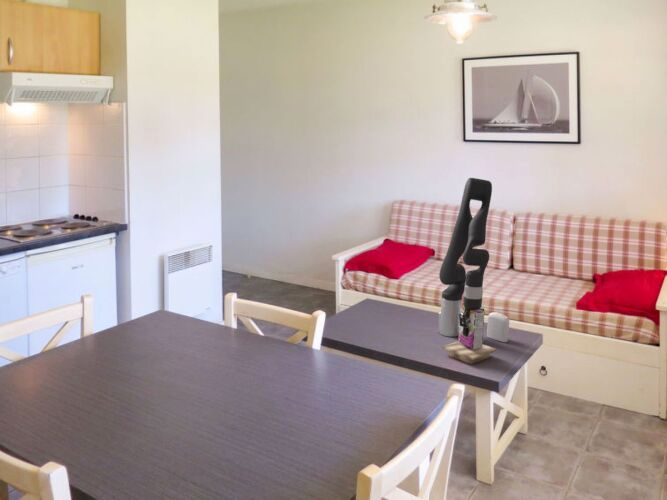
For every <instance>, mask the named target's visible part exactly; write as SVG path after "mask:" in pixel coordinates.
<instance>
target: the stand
mask: <svg viewBox="0 0 667 500" xmlns="http://www.w3.org/2000/svg"><path fill="white" fill-rule="evenodd" d="M441 347H442V348H441V349H443V350H446V351H447V352H448V356H449V355H450V357H451V356H452V358H454V357H455V358H454V359H456V360H459V361H461V362H462V361H463V362H464V363H466V364H470V365H472V364H475V363H478V362H481V361H484V360H486V359H489V358H490V354H493V353H495V352H497V348H495V347H492V346H489V345H486V344H484V343H482V348H480V349H474V350H473V349H471V348H469V347H468V346H466V345H464V344H463V343H461V342H459V341H458V340H457V341H454V342H451V343H447V344H445V345H443V346H441Z"/></svg>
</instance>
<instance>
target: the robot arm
mask: <svg viewBox="0 0 667 500" xmlns="http://www.w3.org/2000/svg"><path fill="white" fill-rule="evenodd" d="M492 192H493V185H492V182H491V181H490V180H487V179H481V178H475V177H469V178H467V180H466V182H465V186H464V188H463V193H462V197H461V201H460V202H461V203H460V207H459V211H458V215H457V219H456V220H455V221H456V222H455V223H454V226H453V231H452V235H451V238H450V241H449V244H448V249H447V251H446V254H445V256H444V259H443V261H442V264H441V267H440V270H439V280H440V282H441V284H443V285H445V286H447V288H445V289H443V290H442V292H441V304H440V305H441V306H440V312H439V313H438V322H437V323H438V324H437V325H438V326H437V333H439V334H440V335H442V336H443V337H449V338H450V337H458V333H459V321H460V326H462V327H463V335H464V336H468V332H469V328H468V327H469V323H470V319H469V320H466V318H469V316H470V310H471V309H480V310H482V311H484V312H485V308H483V295H484V294H483V292H484V289H483V285H484V275H485V272H486V269H487V266H488V264H489V261H490V252H489V251H488V250H487V249H485V248H475V247H480V246H483V245H485V243H486V240H487V239H486V234H487V223H488V217H489V210H490V205H491V201H492ZM472 200H473V201H477V202H478V201H479V202H481V206H480V208H479V210H478V211H477V213H476V214H475V215H474V216H473V215H472V212H471V209H470V208H471V207H470V205H471V201H472ZM461 257H462V261H463V264H465V266H474V267H475V266H476V267H478V268H477V269H472V270H468V271H466V268H465V266H464V265H463V264H461V263H459V260H460V259H461ZM462 302H463V303H462ZM460 305H463V306H464V307H465V311H464V313H460ZM462 322H463V324H462ZM466 322H467V325H466Z"/></svg>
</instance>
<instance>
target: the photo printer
mask: <svg viewBox="0 0 667 500" xmlns="http://www.w3.org/2000/svg"><path fill="white" fill-rule="evenodd" d="M509 328H510V317H508V316H507V315H505V314H504V313H500V312H496V311H495V312H494V311H493V312H490V313H489V314H488V315H487V327H486V337H487V338H488V339H492V340H495V341H497V342H502V343H507V342H508V341H509V331H510V329H509Z"/></svg>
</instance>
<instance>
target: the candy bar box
mask: <svg viewBox="0 0 667 500" xmlns="http://www.w3.org/2000/svg"><path fill="white" fill-rule="evenodd" d="M464 311H465V307H464V306H463V304H462V305H460V313H464ZM469 319H470V323H469V327H468V328H469V332H468V336H464V335H463V327H462V326H460V321H459V333H458V336H457V341H459V342H461V343H463V344H464V345H466V346H468V347H469V348H471V349H473V350H474V349H480V348H482V344H483V338H484V337H483V336H484V323H485V310H484V311H482V310H480V309H471V310H470V316H469V318H466V320H469ZM462 324H463V322H462ZM466 325H467V322H466Z"/></svg>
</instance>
